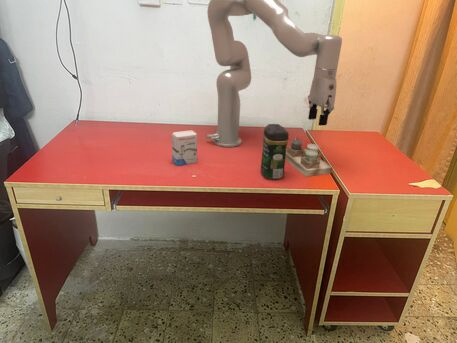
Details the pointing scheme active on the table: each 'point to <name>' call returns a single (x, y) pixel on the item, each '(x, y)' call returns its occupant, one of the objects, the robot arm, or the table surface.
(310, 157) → the sage button
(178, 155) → the ink box
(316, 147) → the white button
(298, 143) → the charcoal button
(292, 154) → the switch board
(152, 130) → the table surface
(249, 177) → the table surface
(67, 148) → the table surface
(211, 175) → the table surface
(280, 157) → the coffee jar
